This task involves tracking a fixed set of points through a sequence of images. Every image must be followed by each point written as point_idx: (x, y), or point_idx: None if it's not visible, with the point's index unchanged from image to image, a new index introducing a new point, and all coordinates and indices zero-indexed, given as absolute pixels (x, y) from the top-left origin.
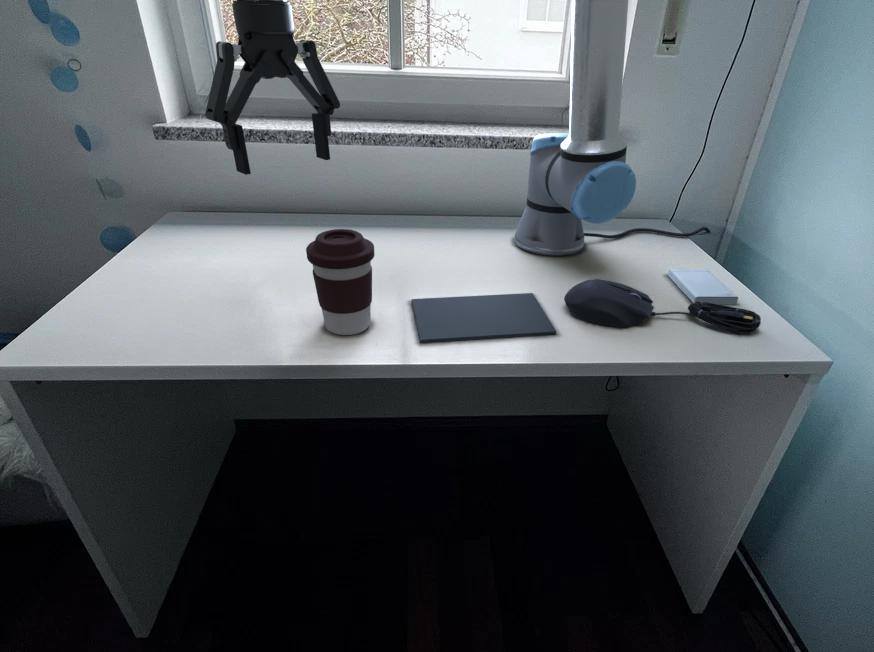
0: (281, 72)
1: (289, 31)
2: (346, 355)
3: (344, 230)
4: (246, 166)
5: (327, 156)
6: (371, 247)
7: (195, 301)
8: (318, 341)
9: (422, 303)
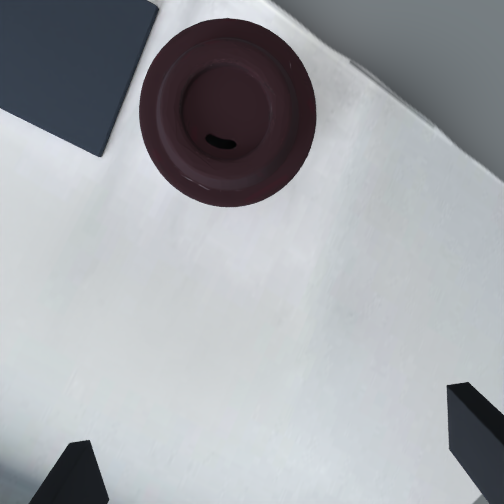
0: None
1: None
2: None
3: (193, 150)
4: (480, 405)
5: (73, 453)
6: (157, 62)
7: (400, 350)
8: None
9: (88, 129)
